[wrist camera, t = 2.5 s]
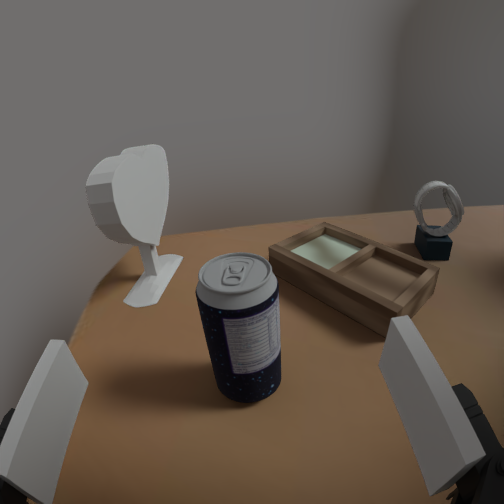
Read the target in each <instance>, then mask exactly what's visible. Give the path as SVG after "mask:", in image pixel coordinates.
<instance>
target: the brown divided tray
mask: <svg viewBox="0 0 504 504" xmlns="http://www.w3.org/2000/svg"><path fill="white" fill-rule="evenodd" d="M269 263H270V265H271V267H272V272H273V273H274V274H275V275H277V276H279V277H280V278H282V279H284V280H286V281H287V282H289V283H291V284H293V285H294V286H296V287H298V288H299V289H301V290H303V291H305V292H306V293H308V294H310V295H312V296H313V297H315V298H317V299H319V300H320V301H322V302H324V303H326V304H327V305H329V306H331V307H333V308H334V309H336V310H338V311H339V312H341V313H343V314H345V315H346V316H348V317H350V318H352V319H353V320H355V321H357V322H359V323H360V324H362V325H364V326H366V327H367V328H369V329H371V330H373V331H374V332H376V333H378V334H380V335H382V336H383V337H385V338H386V337H387V333H388V329H389V325H390V321H391V318H394V317H400V316H406V315H408V316H409V318H410V319H411V318H412V317H413V316H414V315H415V314H416V313H417V311H418V310H419V309H420V308H421V307H422V306H423V305H424V304H425V302H426V301H427V300H428V299H429V298H430V297H431V296H432V294H433V293H434V289H435V285H436V282H437V278H438V274H439V270H440V268H438V267H436V266H434V265H431V264H429V263H426V262H424V261H422V260H419V259H417V258H415V257H412V256H410V255H407V254H405V253H402V252H400V251H398V250H395V249H393V248H390V247H388V246H385V245H383V244H380V243H378V242H375V241H373V240H370V239H368V238H365V237H362V236H360V235H357V234H355V233H352V232H350V231H347V230H344V229H342V228H339V227H336V226H334V225H331V224H328V223H326V222H323V223H321V224H319V225H316V226H314V227H312V228H310V229H308V230H305V231H303V232H301V233H299V234H296V235H294V236H292V237H290V238H287V239H285V240H283V241H281V242H279V243H276V244H274V245H272V246H270V247H269Z"/></svg>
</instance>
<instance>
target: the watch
mask: <svg viewBox="0 0 504 504" xmlns="http://www.w3.org/2000/svg"><path fill="white" fill-rule="evenodd" d="M436 188H443V196H444V199H445V201H446V204H447V205H448V208H449V209H450V211H451V214H452V215H453V216H452V218H451V219H450V221H449V222H448V223H447V224H446V225H444V227H441V226H428V225H427V224H426V223H425V221H424V218H423V213H422V209H421V201H422V199H423V197H424V196H425V195H426V194H427V193H428V192H430V191H431V190H433V189H436ZM419 191H420V192H419ZM419 191H418V192H417V194H416V197H415V201H414V205H413V206H414V211H415V215H416V218H417V220H418V222H419V224H420V225H417V229H416V235H415V241H414V243H415V245H416V247H417V248H418V250H419V252H420V254H421V256H422V258H423V259H424V260H449V256H450V252H451V247H452V243H453V242H452V240H451V239H450V238H449V236H448V234H449V233H451V232H452V231H453V230H455V229H456V227H457V226H458V225H459V223H460V222H461V220H462V215H463V214H464V208H463V205H462V202H461V199H460V197H459V195H458V193H457V192H456V190H455V189H454V187H453V186H452V185H450V184H449V185H448V186H447V185H446V184H445V183H444V182H441V181H432V182H429V183H427V184H425V185H424V186H423V187H421V188H420V190H419ZM449 228H450V229H449Z"/></svg>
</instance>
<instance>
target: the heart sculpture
mask: <svg viewBox="0 0 504 504" xmlns="http://www.w3.org/2000/svg"><path fill="white" fill-rule="evenodd" d="M86 193H87V200H88V205H89V208H90V210H91V213H92V216H93V219H94V221H95V224H96V226H97V227H98V228H99V229H100V230H101V231H102V232H103V233H104V235H105V236H106V237H107V238H109V239H111V240H113V241H116V242H118V243H123V244H131V245H135V246H139V250H140V254H141V258H142V261H143V265H144V269H145V271H144V272H143V274H142V275H141V277H140V278H139V279H138V281H137V282H136V284H135V285H134V286H133V288H132V289H131V291H130V292H129V293H128V295H127V296H126V298H125V299H124V301H123V302H125V303H126V304H128V305H130V306H133V307H144V306H149V305H153V304H156V303H157V302H158V300H159V299H160V297H161V295H162V293H163V292H164V290H165V288H166V286H167V285H168V283H169V281H170V280H171V278H172V276H173V274H174V273H175V271H176V269H177V268H178V266H179V264H180V263H181V261H182V259H183V258H184V257H182V256H179V255H175V254H167V255H162V256H158V254H157V250H156V246H159V241H160V236H161V232H162V228H163V224H164V220H165V216H166V210H167V205H168V195H169V174H168V163H167V159H166V154H165V151H164V149H163V148H162V147H161V146H159V145H152V144H151V145H144V146H138V147H131V148H127V149H124V150H123V151H122V153H121V154H120V155H119V156H113V157H107V158H105V159H104V160H102V161H101V162H100V163H99V164H98V165H97V166H95V168H94V169H93V170H92V172H91V173H90V175H89V177H88V180H87V183H86Z"/></svg>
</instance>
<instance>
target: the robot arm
mask: <svg viewBox="0 0 504 504" xmlns="http://www.w3.org/2000/svg"><path fill="white" fill-rule="evenodd" d="M379 368H380V370H381V372H382V375H383V377H384V379H385V382H386V384H387V386H388V389H389V391H390V393H391V396H392V398H393V400H394V403H395V405H396V408H397V410H398V413H399V415H400V417H401V420H402V422H403V425H404V427H405V430H406V433H407V435H408V438H409V440H410V443H411V445H412V448H413V451H414V453H415V456H416V459H417V461H418V464H419V467H420V470H421V472H422V475H423V478H424V481H425V484H426V487H427V490H428V492H429V495H430V496H432V495H435V494H437V493H440V492H442V491H444V490H447V489H449V488H450V487H451V486H452V485H453V484H455V483H456V485H457V488H456V489H455V490H454V491H453V492H451V493H450V494H449V495H448V497H447V498H446V500H449V499H450V498H452V497H453V499H452V501H451V504H504V449H503V448H502V446H501V445H500V443H499V442H498V440H497V438H496V436H495V434H494V432H493V430H492V428H491V426H490V424H489V422H488V420H487V418H486V417H485V415H484V414H483V411H482V409H481V407H480V406H479V405H478V402H477V400H476V399H475V397H474V395H473V393H472V392H471V391H470V390H469V389H468V388H466V387H465V386H464V385H463V384H462V383H461V384H458V385H455V386H452V387H451V386H450V384H449V382H448V380H447V379H446V377H445V375H444V373H443V372H442V370H441V368H440V366H439V365H438V363H437V361H436V360H435V358H434V356H433V355H432V353H431V351H430V350H429V348H428V346H427V345H426V343H425V341H424V340H423V338H422V337H421V335H420V333H419V332H418V330H417V329H416V327H415V325H414V324H413V322H412V321H411V319H410V318H409V316H408V315H406V316H400V317H394V318H391V321H390V325H389V329H388V333H387V337H386V340H385V344H384V348H383V351H382V355H381V358H380V362H379ZM87 386H88V381H87V380H86V378H85V376H84V375H83V373H82V371H81V370H80V368H79V366H78V364H77V363H76V361H75V359H74V357H73V356H72V354H71V352H70V350H69V348H68V346H67V345H66V343H65V341H64V340H50V342H49V343H48V345H47V347H46V349H45V351H44V353H43V354H42V356H41V358H40V360H39V362H38V364H37V366H36V368H35V370H34V372H33V374H32V376H31V378H30V380H29V382H28V384H27V386H26V388H25V390H24V392H23V395H22V396H21V398H20V401H19V403H18V405H17V407H16V409H13V408H11V410H10V411H9V412H8V413H7V414H6V415H5V416H4V418H3V421H2V423H1V425H0V504H29V503H28V502H27V501H26V500H27V497H28V498H30V499H31V500H33V501H34V502H36V503H38V504H52V502H53V498H54V494H55V490H56V486H57V482H58V478H59V474H60V471H61V467H62V463H63V460H64V456H65V453H66V450H67V446H68V443H69V440H70V436H71V433H72V430H73V427H74V424H75V421H76V418H77V415H78V412H79V409H80V406H81V403H82V400H83V397H84V394H85V392H86V389H87Z"/></svg>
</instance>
